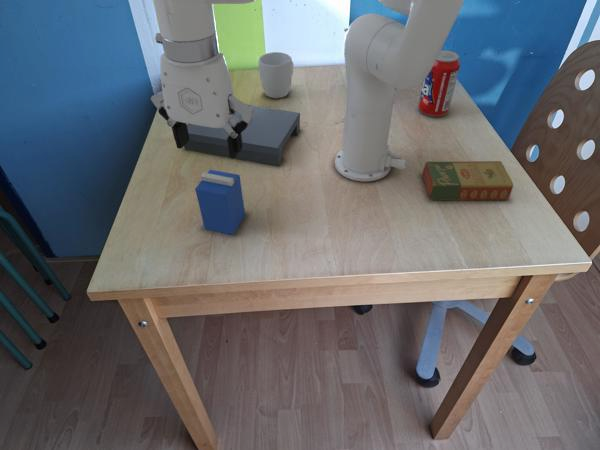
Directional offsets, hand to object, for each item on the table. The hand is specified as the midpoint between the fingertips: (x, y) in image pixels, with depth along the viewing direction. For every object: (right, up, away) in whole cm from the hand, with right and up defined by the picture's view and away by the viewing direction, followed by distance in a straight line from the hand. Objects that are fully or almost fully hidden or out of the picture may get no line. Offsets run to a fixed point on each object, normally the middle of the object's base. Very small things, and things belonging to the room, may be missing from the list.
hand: (209, 149), depth 71 cm
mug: (+10, +26, +51) cm, 58 cm away
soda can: (+51, +17, +42) cm, 68 cm away
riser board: (+1, +8, +33) cm, 34 cm away
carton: (+50, -5, +18) cm, 53 cm away
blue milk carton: (+1, -12, +12) cm, 17 cm away
